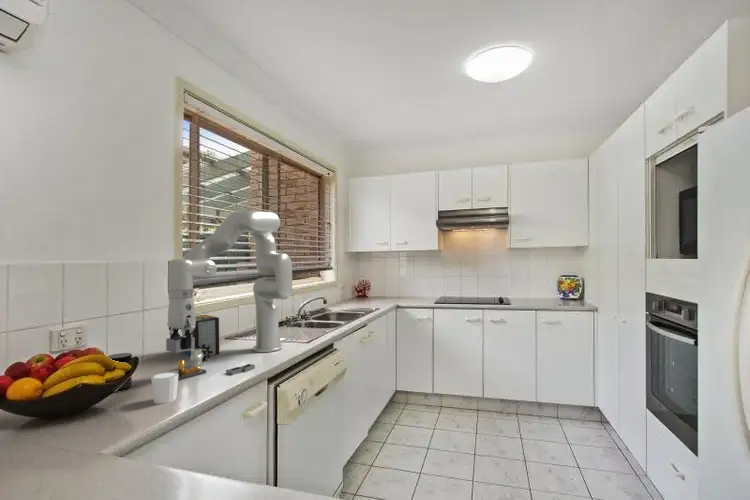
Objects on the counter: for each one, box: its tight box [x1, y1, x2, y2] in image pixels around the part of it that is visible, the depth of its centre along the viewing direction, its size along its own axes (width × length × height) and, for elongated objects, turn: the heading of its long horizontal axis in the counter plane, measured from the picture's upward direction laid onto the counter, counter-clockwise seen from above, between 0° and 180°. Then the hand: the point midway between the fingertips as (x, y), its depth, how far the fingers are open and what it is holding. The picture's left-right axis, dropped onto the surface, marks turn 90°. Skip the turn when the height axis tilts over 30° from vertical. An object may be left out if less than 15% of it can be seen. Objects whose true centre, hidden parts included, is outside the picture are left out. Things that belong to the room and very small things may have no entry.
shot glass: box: [150, 371, 179, 405], centre depth 111 cm, size 7×7×7 cm
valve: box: [189, 344, 213, 368], centre depth 149 cm, size 7×7×12 cm
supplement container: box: [107, 352, 133, 393], centre depth 121 cm, size 7×7×10 cm
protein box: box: [182, 314, 220, 357], centre depth 167 cm, size 10×15×16 cm
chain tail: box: [225, 363, 256, 376], centre depth 139 cm, size 10×4×1 cm, turn 145°
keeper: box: [176, 359, 207, 382], centre depth 134 cm, size 11×7×6 cm, turn 145°
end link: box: [165, 335, 195, 354], centre depth 133 cm, size 6×6×4 cm
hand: (180, 347), depth 133 cm, fingers closed on end link, 6 cm apart
